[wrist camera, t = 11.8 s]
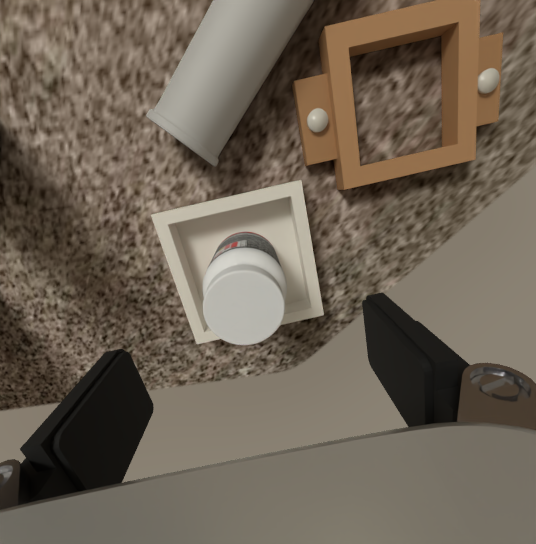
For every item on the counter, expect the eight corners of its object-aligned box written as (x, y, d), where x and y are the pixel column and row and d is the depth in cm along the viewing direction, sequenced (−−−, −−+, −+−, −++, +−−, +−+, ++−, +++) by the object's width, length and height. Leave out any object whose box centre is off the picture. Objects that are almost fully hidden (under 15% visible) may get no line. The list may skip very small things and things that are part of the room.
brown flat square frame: (493, -1, 20) (516, -18, 18) (486, 155, 23) (505, 152, 22) (285, 47, 20) (289, 34, 18) (309, 195, 23) (314, 196, 22)
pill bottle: (203, 249, 24) (171, 290, 14) (258, 218, 23) (264, 240, 14) (235, 300, 25) (226, 367, 16) (287, 273, 25) (310, 325, 15)
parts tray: (295, 180, 23) (301, 180, 20) (317, 303, 27) (323, 315, 24) (161, 212, 23) (150, 214, 20) (201, 330, 27) (197, 344, 24)
